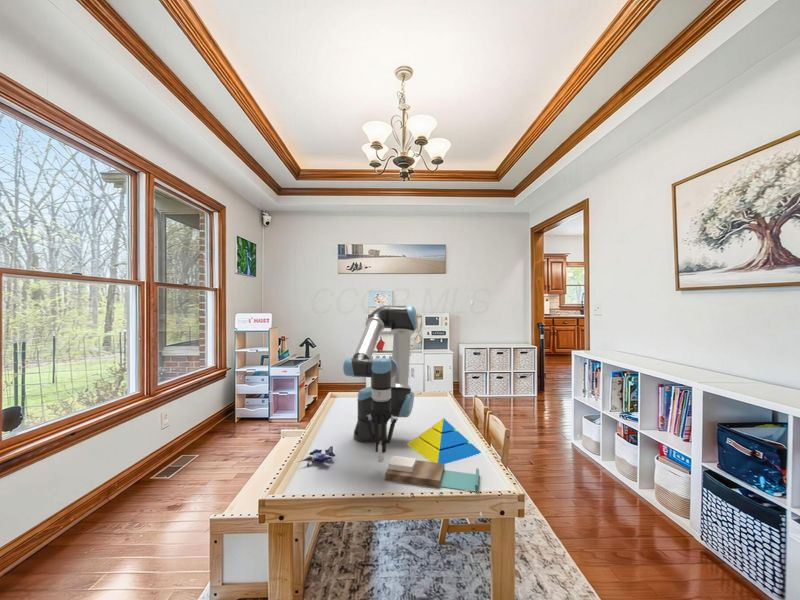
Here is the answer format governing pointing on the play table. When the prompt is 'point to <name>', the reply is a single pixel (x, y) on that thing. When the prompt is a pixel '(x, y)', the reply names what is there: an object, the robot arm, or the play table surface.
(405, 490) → the play table surface
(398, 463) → the tile
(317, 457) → the toy airplane
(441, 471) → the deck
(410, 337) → the robot arm
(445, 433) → the pyramid toy
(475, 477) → the mat
